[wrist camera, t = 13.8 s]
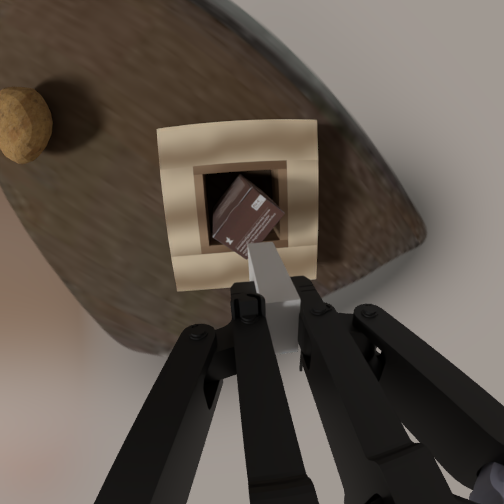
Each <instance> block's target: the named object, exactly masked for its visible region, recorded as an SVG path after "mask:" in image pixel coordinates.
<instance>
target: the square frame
mask: <svg viewBox="0 0 504 504" xmlns="http://www.w3.org/2000/svg"><path fill="white" fill-rule="evenodd" d="M157 139H158V152H159V163H160V174H161V184H162V193H163V201H164V209H165V217H166V224H167V231H168V238H169V245H170V251H171V258H172V264H173V269H174V275H175V281H176V286H177V291H189V290H203V289H216V288H228V287H231V286H232V285H233V284H234V283H236V282H247V281H250V280H249V263H248V259H247V260H246V259H244V258H243V257H241V256H240V255H238V254H237V253H236V252H234V251H233V250H231V249H230V248H228V247H227V246H225V245H223V244H222V243H220V242H219V241H217V240H216V239H214V238H213V233H211V232H210V221H209V211H208V199H207V188H206V175H205V174H210V173H222V172H236V171H251V170H271V177H272V201H273V202H274V203H276V204H277V205H278V206H279V207H280V209H281V210H282V211H283V212H284V213H285V214H284V215H283V217H282V218H281V219H280V220H279V221H278V223H277V224H276V225H275V227H274V228H273V229H272V230H271V231H270V233H269V234H268V235H267V236H266V238H265V239H264V240H263V241H262V242H273V243H274V245H275V247H276V249H277V251H278V254H279V256H280V258H281V260H282V262H283V264H284V266H285V268H286V270H287V272H288V274H289V276H290V277H293V276H302V275H303V276H305V277H307V278H308V279H310V280H312V279H316V270H317V245H318V136H317V120H298V119H273V120H242V121H225V122H212V123H201V124H192V125H183V126H175V127H167V128H160V129H157Z"/></svg>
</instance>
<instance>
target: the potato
mask: <svg viewBox="0 0 504 504" xmlns="http://www.w3.org/2000/svg"><path fill="white" fill-rule="evenodd" d="M52 124H53V121H52V116H51V112H50V110H49V108H48V105H47V104H46V102H45V100H44V99H43V97H42V96H41V95H40V94H39V93H38V92H37V91H35V90H34V89H32V88H24V87H8V88H4V89H2V90H1V91H0V149H1V151H2V152H3V154H4V155H5V156H6V157H8V158H9V159H11V160H13V161H15V162H17V163H19V164H25V163H28V162H31V161H34V160H35V159H36V158H37V157H38V156H39V155H40V154H41V153H42V151H43V150H44V149H45V147H46V146H47V143H48V141H49V139H50V136H51V134H52Z"/></svg>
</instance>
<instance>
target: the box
mask: <svg viewBox="0 0 504 504" xmlns="http://www.w3.org/2000/svg"><path fill="white" fill-rule="evenodd" d="M284 214H285V213H284V212H283V211H282V210H281V209H280V207H279V206H278V205H277V204H276V203H274V202H273V201H272V200H271V198H269V197H268V196H267V195H266V194H265V193H264V191H262V190H261V189H260V188H259V187H257V186H256V185H255V184H253V183H252V182H251V181H249V180H248V179H247V178H246V177H244V176H243V175H242V174H239V175H238V176H237V177H236V178H235V180H234V181H233V182H232V183H231V185H230V186H229V187H228V188H227V190H226V191H225V192H224V194H223V195H222V196H221V198H220V199H219V200H218V202H217V203H216V204H215V206H214V207H213V238H214V239H216V240H217V241H219V242H220V243H222V244H223V245H225V246H227V247H228V248H230V249H231V250H233V251H234V252H236V253H237V254H238V255H240V256H241V257H243V258H244V259H246V260H247V259H248V246H247V244H249V243H261V242H262V241H263V240H264V239H265V238H266V236H267V235H268V234H269V233H270V231H271V230H272V229H273V228H274V227H275V225H276V224H277V223H278V221H279V220H280V219H281V218H282V217H283V215H284Z"/></svg>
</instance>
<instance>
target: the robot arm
mask: <svg viewBox="0 0 504 504" xmlns="http://www.w3.org/2000/svg"><path fill="white" fill-rule="evenodd" d="M247 246H248V263H249V280H250V281H247V282H236V283H234V284H233V285H232V286H231V288H230V290H231V302H230V303H231V313H232V320H231V322H230V323H229V324H228V325H226V326H225V327H222V328H220V329H217V330H214V328H213V327H211V326H210V325H207V324H195V325H191V326H189V327H187V328H185V329H184V331H183V332H182V333H181V335H180V337H179V339H178V340H177V342H176V344H175V346H174V348H173V350H172V351H171V353H170V355H169V357H168V359H167V361H166V363H165V365H164V366H163V368H162V370H161V372H160V374H159V376H158V378H157V380H156V382H155V384H154V385H153V387H152V389H151V391H150V393H149V395H148V397H147V399H146V400H145V402H144V404H143V406H142V409H141V410H140V412H139V414H138V416H137V418H136V420H135V422H134V424H133V426H132V428H131V430H130V431H129V433H128V435H127V437H126V439H125V441H124V444H123V445H122V447H121V449H120V451H119V453H118V455H117V457H116V459H115V461H114V463H113V465H112V467H111V469H110V471H109V473H108V475H107V477H106V479H105V482H104V484H103V486H102V488H101V490H100V492H99V494H98V496H97V498H96V500H95V502H94V504H186V503H187V499H188V496H189V493H190V490H191V486H192V483H193V480H194V477H195V474H196V470H197V467H198V464H199V461H200V457H201V454H202V451H203V447H204V444H205V441H206V437H207V434H208V431H209V427H210V424H211V421H212V417H213V414H214V411H215V408H216V404H217V401H218V398H219V394H220V391H221V388H222V384H223V379H224V378H227V377H230V376H233V375H236V374H237V381H238V392H239V403H240V413H241V422H242V432H243V441H244V451H245V459H246V468H247V477H248V485H249V486H248V487H249V498H250V504H319V502H318V498H317V495H316V491H315V488H314V485H313V483H312V481H311V479H310V478H309V477H308V476H307V474H306V472H305V468H304V464H303V461H302V456H301V452H300V448H299V445H298V441H297V437H296V433H295V429H294V425H293V422H292V418H291V414H290V410H289V406H288V402H287V398H286V394H285V391H284V386H283V382H282V378H281V375H280V371H279V367H278V363H277V359H276V354H283V353H291V352H298V343H299V345H300V348H301V355H300V371H302V367H303V368H304V371H305V374H306V377H307V379H308V382H309V385H310V388H311V391H312V394H313V397H314V400H315V403H316V406H317V409H318V412H319V415H320V418H321V421H322V424H323V427H324V430H325V433H326V436H327V439H328V442H329V445H330V448H331V451H332V454H333V457H334V460H335V463H336V466H337V469H338V472H339V475H340V479H341V482H342V485H343V488H344V493H345V497H344V504H504V406H503V405H502V404H501V403H499V402H498V401H497V400H496V399H495V398H493V397H492V396H491V395H490V394H489V393H487V392H486V391H485V390H484V389H483V388H482V387H480V386H479V385H478V384H477V383H476V382H474V381H473V380H472V379H471V378H469V377H468V376H467V375H466V374H465V373H463V372H462V371H461V370H460V369H458V368H457V367H456V366H455V365H454V364H452V363H451V362H450V361H449V360H447V359H446V358H445V357H444V356H442V355H441V354H440V353H438V352H437V351H436V350H435V349H433V348H432V347H431V346H430V345H428V344H427V343H426V342H425V341H423V340H422V339H420V338H419V337H418V336H417V335H415V334H414V333H413V332H412V331H410V330H409V329H408V328H407V327H405V326H404V325H403V324H401V323H400V322H399V321H397V320H396V319H394V318H393V317H392V316H391V315H390V314H388V313H387V312H386V311H384V310H383V309H382V308H380V307H378V306H376V305H372V304H363V305H359V306H357V307H356V308H355V309H354V314H345V313H338V312H336V310H335V308H334V307H333V306H332V305H330V304H327V303H324V302H323V301H322V299H321V297H320V295H319V294H318V292H317V290H316V289H315V287H314V286H313V284H312V282H311V280H310V279H308V278H307V277H305V276H303V275H302V276H293V277H290V276H289V274H288V272H287V270H286V268H285V266H284V264H283V262H282V260H281V258H280V256H279V254H278V251H277V249H276V247H275V245H274V243H273V242H261V243H249V244H247ZM377 347H378V348H379V349H380V350H381V354H380V353H378V352H377V351H376V348H377ZM402 423H403V425H404V426H405V427H406V428H407V429H408V430H409V431H410V432H411V433H412V434H413V435H414V436H415V437H416V439H417V440H418V441H419V442H420V443H414V442H412V441H411V440H410V438H409V436H408V434H407V433H406V431H405V429H404V427H403V425H402ZM434 458H435V459H436V460H437V461H438V462H439V463H440V464H441V466H443V468H444V469H445V470H446V471H447V472H448V473H449V474H450V475H451V476H452V477H453V478H455V479H456V480H457V481H458V482H460V483H461V484H463V485H464V486H466V487H468V488H470V489H472V490H473V491H472V492H471V494H470V496H469V500H468V499H465V498H462V497H460V496H457V495H454V494H452V492H451V490H450V488H449V486H448V484H447V482H446V480H445V478H444V476H443V474H442V472H441V470H440V469H439V467H438V465H437V463H436V461H435V459H434Z"/></svg>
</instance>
